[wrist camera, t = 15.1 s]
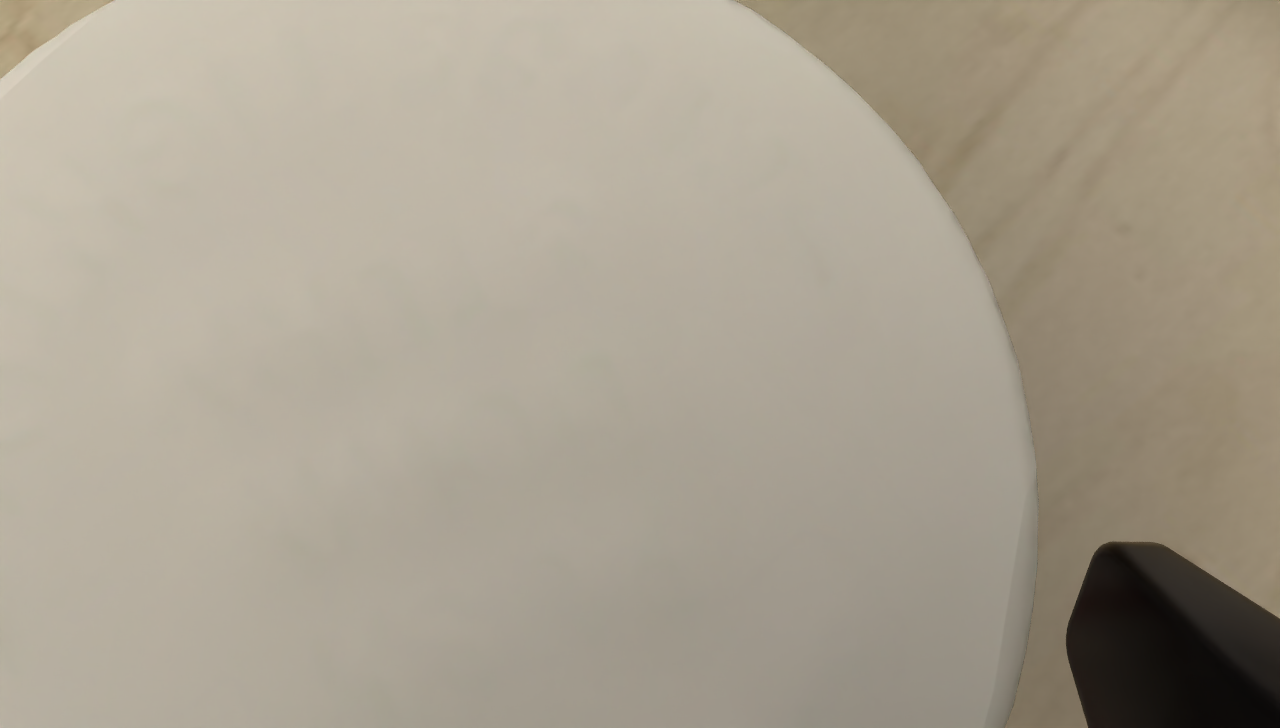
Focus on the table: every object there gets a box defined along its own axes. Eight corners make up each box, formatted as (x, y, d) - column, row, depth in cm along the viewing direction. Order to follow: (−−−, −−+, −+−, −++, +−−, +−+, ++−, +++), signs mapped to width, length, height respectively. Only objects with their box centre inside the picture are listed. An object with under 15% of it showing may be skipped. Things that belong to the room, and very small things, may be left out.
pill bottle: (266, 361, 16) (-258, -252, 5) (706, 365, 17) (1081, -165, 6) (237, 837, 15) (-588, 1425, 4) (719, 820, 15) (1257, 1275, 4)
